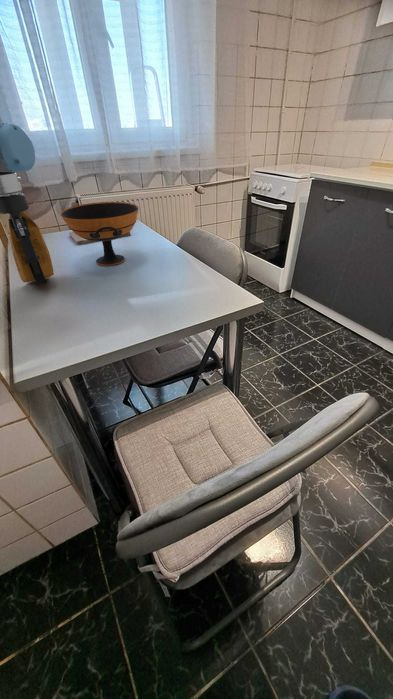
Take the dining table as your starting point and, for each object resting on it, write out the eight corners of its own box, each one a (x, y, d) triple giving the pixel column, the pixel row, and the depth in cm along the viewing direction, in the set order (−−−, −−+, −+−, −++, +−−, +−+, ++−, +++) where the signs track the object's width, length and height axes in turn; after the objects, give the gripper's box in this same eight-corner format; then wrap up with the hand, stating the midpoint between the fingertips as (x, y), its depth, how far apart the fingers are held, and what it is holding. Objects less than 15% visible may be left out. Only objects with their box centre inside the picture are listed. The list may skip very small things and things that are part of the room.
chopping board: (77, 244, 126) (76, 241, 125) (69, 235, 137) (68, 232, 136) (130, 235, 135) (130, 231, 134) (119, 227, 146) (118, 224, 145)
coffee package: (55, 276, 100) (33, 205, 92) (57, 277, 89) (32, 197, 82) (23, 282, 96) (-3, 208, 88) (21, 283, 85) (-9, 200, 78)
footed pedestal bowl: (74, 250, 120) (61, 203, 109) (136, 242, 126) (130, 197, 116) (75, 285, 93) (58, 227, 82) (154, 273, 99) (148, 217, 88)
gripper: (26, 195, 70) (58, 287, 84) (21, 188, 79) (51, 272, 93) (-10, 199, 67) (30, 294, 81) (-11, 192, 76) (25, 278, 90)
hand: (41, 282), depth 87 cm, fingers closed
